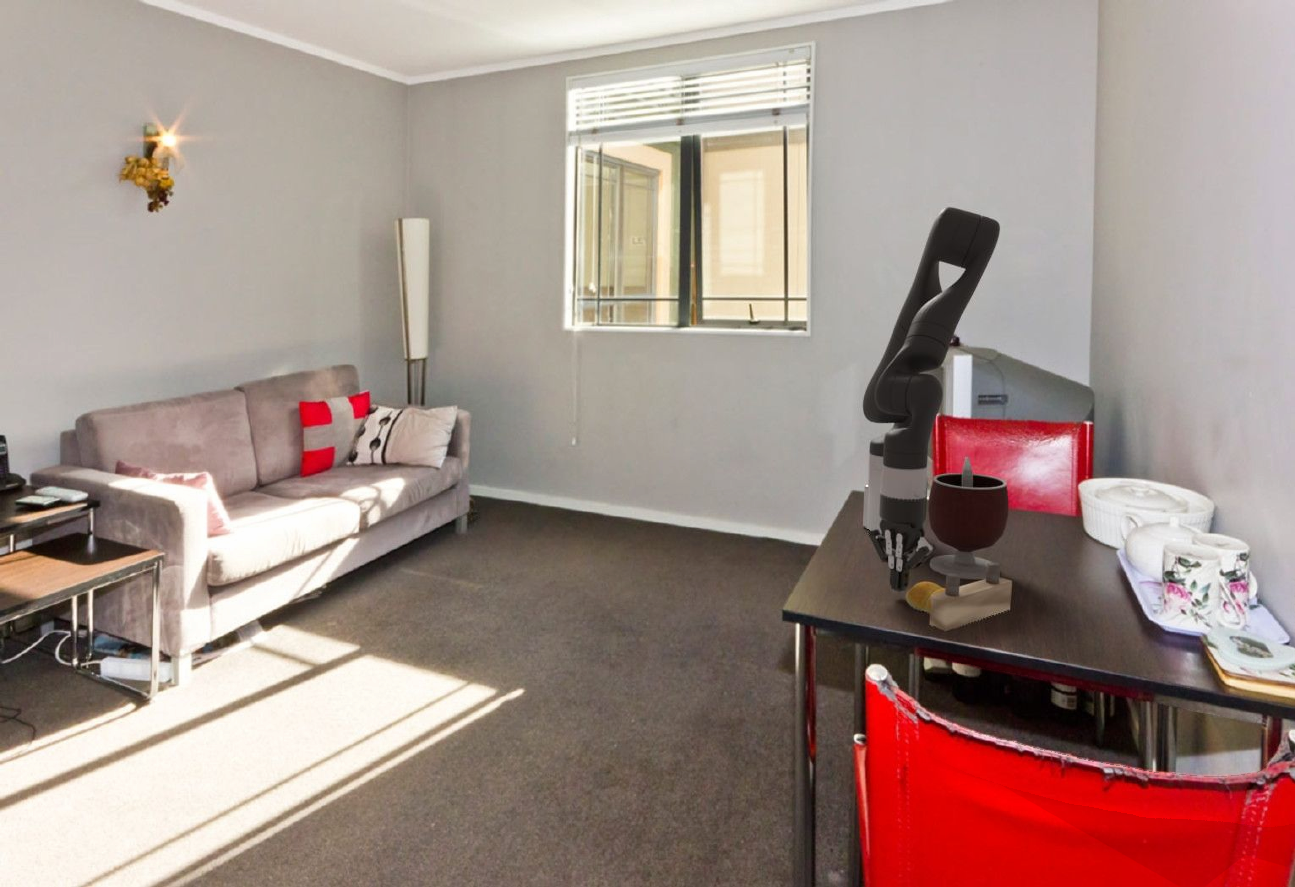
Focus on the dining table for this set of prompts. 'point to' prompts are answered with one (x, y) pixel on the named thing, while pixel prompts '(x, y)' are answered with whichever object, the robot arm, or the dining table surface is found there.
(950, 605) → the bar
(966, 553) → the mate gourd
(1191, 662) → the dining table surface
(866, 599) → the dining table surface
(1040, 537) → the dining table surface
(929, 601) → the bread roll
